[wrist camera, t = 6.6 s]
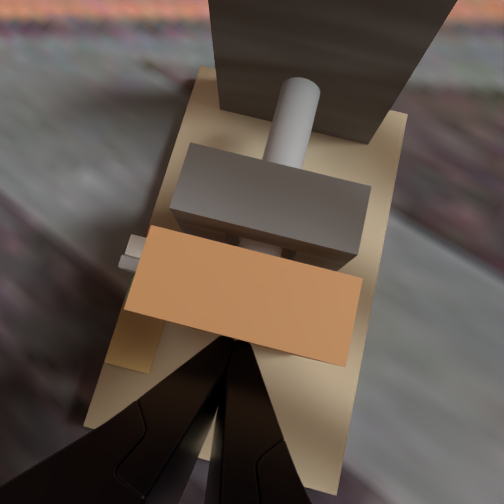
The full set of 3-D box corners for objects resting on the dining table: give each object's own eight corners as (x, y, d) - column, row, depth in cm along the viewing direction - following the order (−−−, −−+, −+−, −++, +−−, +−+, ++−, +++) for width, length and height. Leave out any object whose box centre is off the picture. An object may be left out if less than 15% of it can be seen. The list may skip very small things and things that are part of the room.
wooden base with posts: (330, 486, 16) (432, 655, 7) (92, 421, 17) (-79, 508, 8) (399, 125, 20) (522, -49, 11) (202, 79, 20) (170, -125, 11)
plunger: (299, 356, 16) (345, 367, 9) (116, 308, 16) (12, 280, 9) (344, 154, 18) (412, 24, 11) (180, 114, 18) (137, -38, 11)
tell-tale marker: (176, 272, 16) (170, 265, 15) (134, 261, 16) (124, 254, 15) (182, 253, 17) (176, 245, 15) (140, 243, 17) (131, 234, 15)
